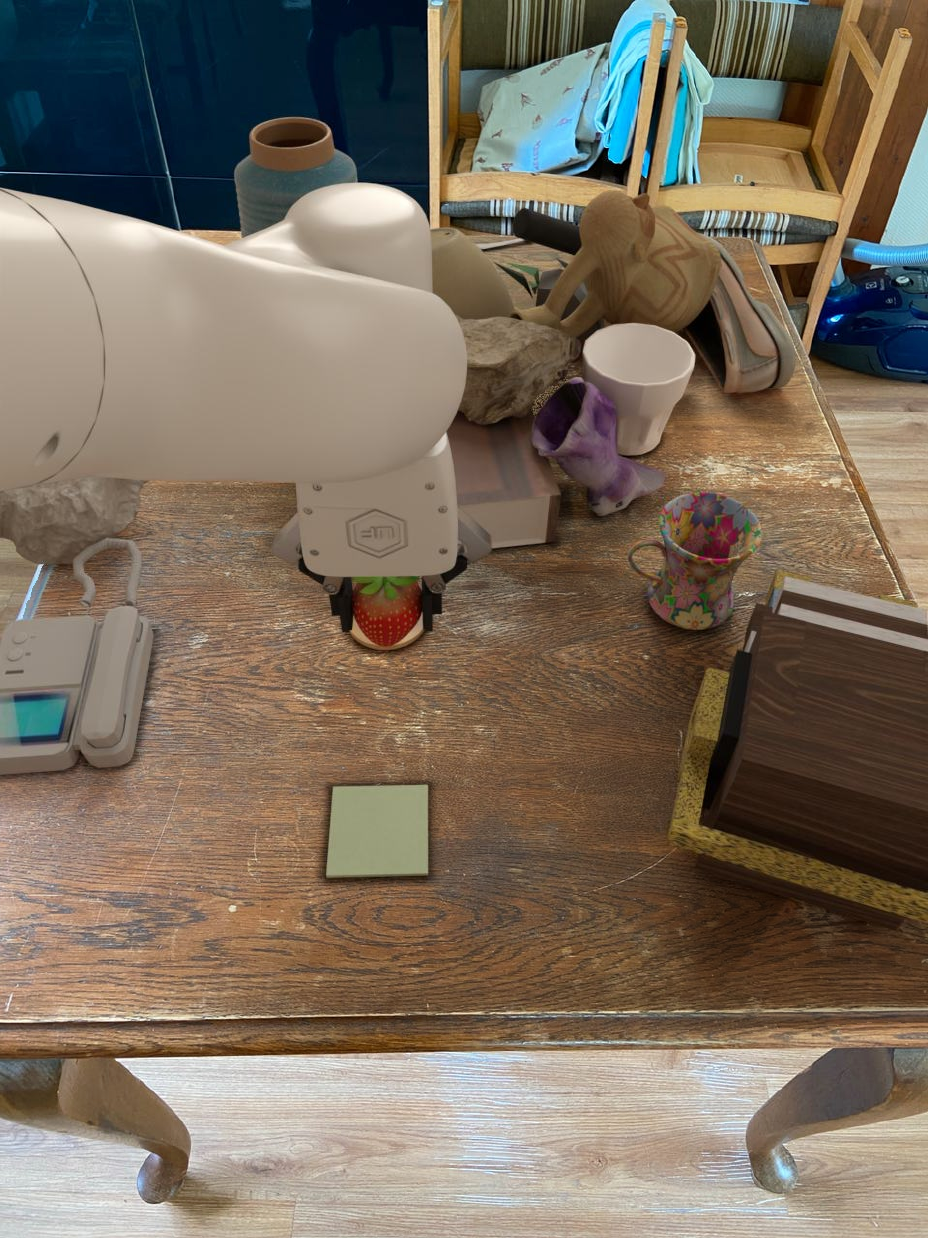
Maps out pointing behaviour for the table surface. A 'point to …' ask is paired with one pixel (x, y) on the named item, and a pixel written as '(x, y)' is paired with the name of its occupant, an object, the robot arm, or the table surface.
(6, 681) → the intercom
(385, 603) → the fruit
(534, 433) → the figurine
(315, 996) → the table surface
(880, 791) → the brown wooden box
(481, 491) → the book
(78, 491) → the stone
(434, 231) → the flower pot
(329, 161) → the vase
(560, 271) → the succulent plant
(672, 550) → the mug
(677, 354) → the cup
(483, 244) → the knife
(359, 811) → the napkin
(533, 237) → the flashlight
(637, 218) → the ceramic vessel
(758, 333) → the loafer
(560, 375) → the rock
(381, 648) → the coaster
